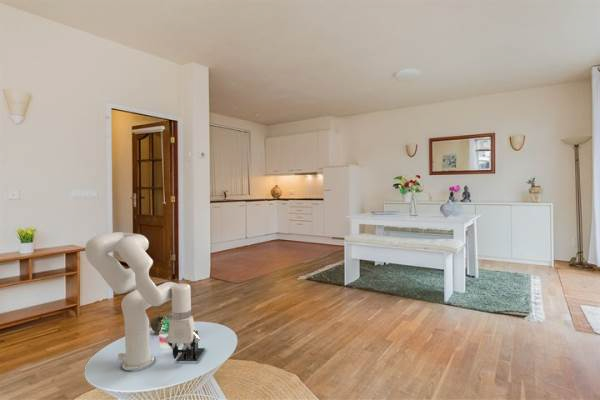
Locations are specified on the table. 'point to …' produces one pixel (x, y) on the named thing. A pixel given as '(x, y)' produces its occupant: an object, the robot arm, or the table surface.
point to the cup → (156, 324)
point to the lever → (182, 349)
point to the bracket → (195, 355)
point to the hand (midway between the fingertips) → (182, 356)
